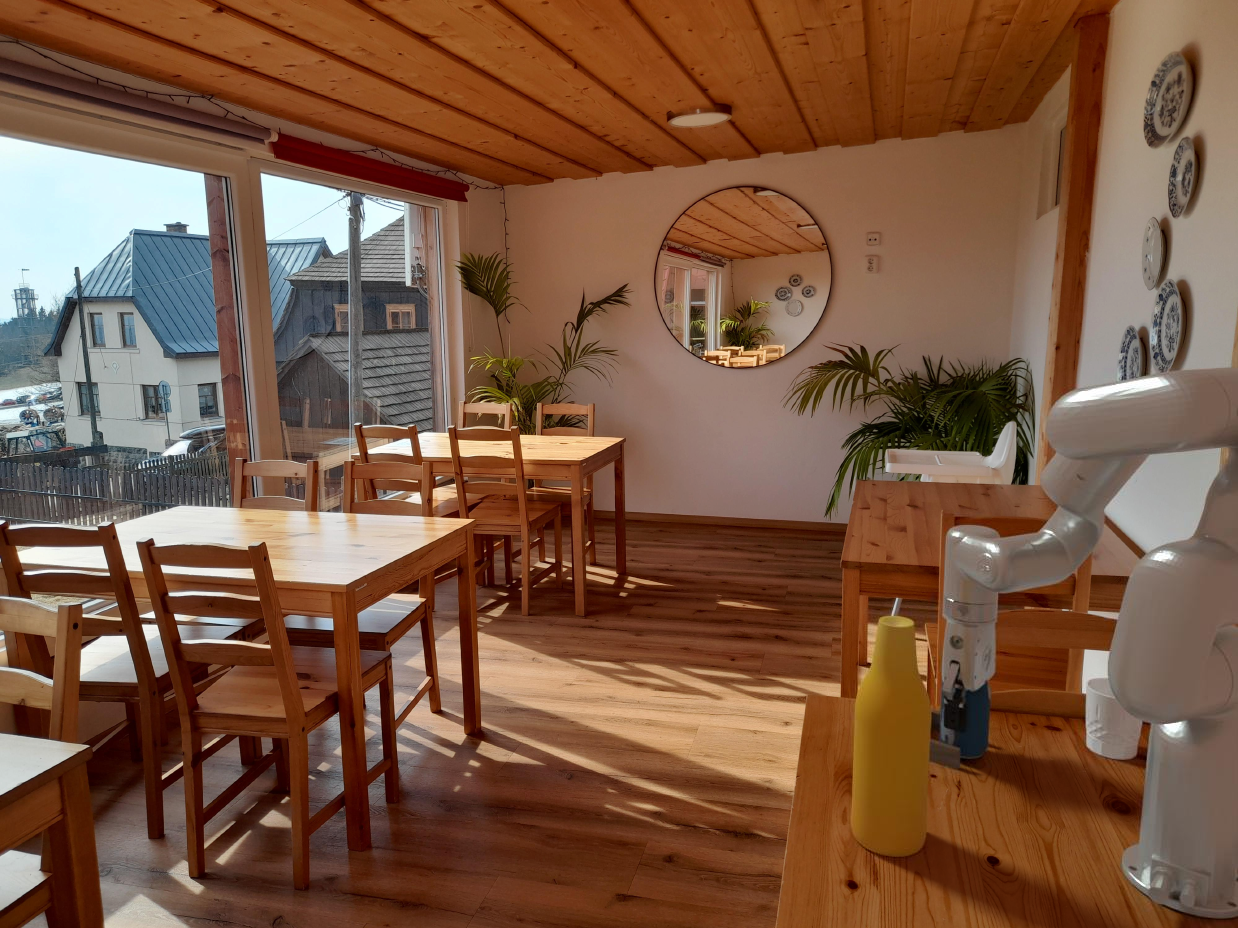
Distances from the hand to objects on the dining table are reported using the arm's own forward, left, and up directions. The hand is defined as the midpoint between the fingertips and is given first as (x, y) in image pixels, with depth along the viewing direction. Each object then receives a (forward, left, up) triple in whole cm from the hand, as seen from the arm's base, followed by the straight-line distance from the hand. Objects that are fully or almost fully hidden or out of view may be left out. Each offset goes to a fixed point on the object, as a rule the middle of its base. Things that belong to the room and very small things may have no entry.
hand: (964, 719), depth 128 cm
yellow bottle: (-28, -1, -6) cm, 28 cm away
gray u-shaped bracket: (0, +3, -5) cm, 6 cm away
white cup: (+16, -17, -6) cm, 24 cm away
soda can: (0, 0, -5) cm, 5 cm away
